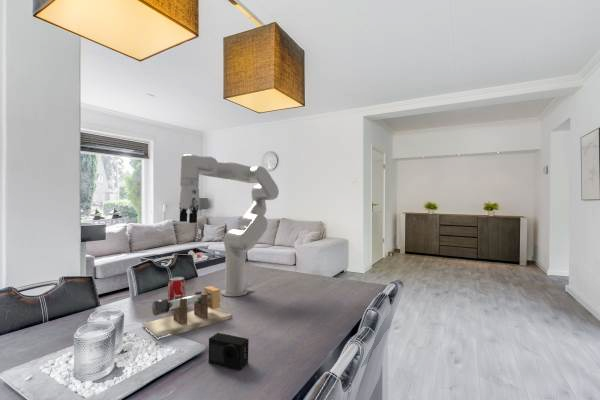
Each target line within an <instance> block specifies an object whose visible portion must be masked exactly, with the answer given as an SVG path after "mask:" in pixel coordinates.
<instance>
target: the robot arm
mask: <svg viewBox="0 0 600 400" xmlns="http://www.w3.org/2000/svg"><path fill="white" fill-rule="evenodd" d="M200 176H205V177H206V176H207V177H211V178H216V179H217V178H218V179H224V180H231V181H236V182H237V181H238V182H242V183H246V184H256V185H253V187H252V189H251V197H252V198H251V199H252V203H251V204H250V205H251V206H250V207H249V209H248V210H247V211H246V212H245V213H244V215H243V216H242V217H241V218H240V219H239V222H238V227H239V229H237V228H235V229H230V230H228V231H227V232H226V233H225V234H224V237H223V244H224V250H225V253H224V254H225V263H224V264H225V266H224V267H225V268H224V269H225V271H224V289H222V290H220V295H222V296H225V297H242V296H245V295H247V293H248V288H251V287H253V282H248V283H247V282H245V274H246V272H245V271H246V270H245V269H246V254H245V251H250V250H251V249H253V248H254V247H255V246H256V245H257V244H258V243H259V241H260V239H261V238H262V237H263V236H264V234H265V232H266V231H267V228H268V223H269V222H268V219H267V217H266V216H265V214H266V212H267V202H266V201H273V200H275V199H277V198H278V196H279V188H278V186H277V184H276V182H275V180H274V179H273V177H272V176H271V174H270V172H269V171H268V170H267V169H266V168H265V167H263V166H262V165H257V166H249V165H245V164H242V163H241V164H240V163H238V162H237V163H236V162H232V161H229V162H227V161H225V162H219V161H218V160H217V159H216V158H215V157H213V156H209V155H208V156H205V155H204V156H199V155H196V154H188V153H187V154H186V153H185V154H183V155H182V156H181V159H180V181H179V182H180V183H179V184H180V186H179V187H180V194H179V202H178V203H179V222H180V223H187V222H188V223H190V224H197V222H198V211H199V208H200V191H199V190H200V189H199V184H200V183H199V182H200V180H199V179H200ZM188 210H189V214H188ZM188 217H189V218H188Z"/></svg>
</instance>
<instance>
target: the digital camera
mask: <svg viewBox="0 0 600 400" xmlns="http://www.w3.org/2000/svg"><path fill="white" fill-rule="evenodd" d="M249 343H250V342H249V338H245V337H242V336H241V337H240V336H236V335H231V334H226V333H220V332H217V333H215V334H214V335H212V336H210V337H209V338H208V364H211V365H214V366H217V367H218V366H220V367H223V368H227V369H230V370H234V371H235V370H236V371H241V370H242V369H244V368H245V367H246V366H248V364H249Z"/></svg>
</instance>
